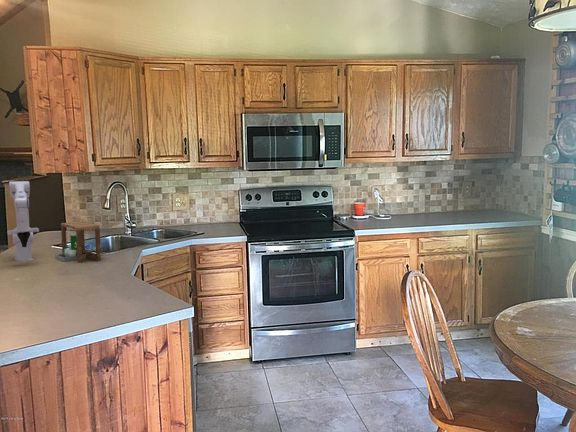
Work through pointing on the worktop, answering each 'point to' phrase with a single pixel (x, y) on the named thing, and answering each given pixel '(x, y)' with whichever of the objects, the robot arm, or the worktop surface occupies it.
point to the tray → (62, 257)
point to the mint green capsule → (72, 253)
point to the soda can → (73, 241)
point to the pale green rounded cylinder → (67, 252)
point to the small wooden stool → (82, 239)
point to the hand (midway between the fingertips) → (24, 246)
